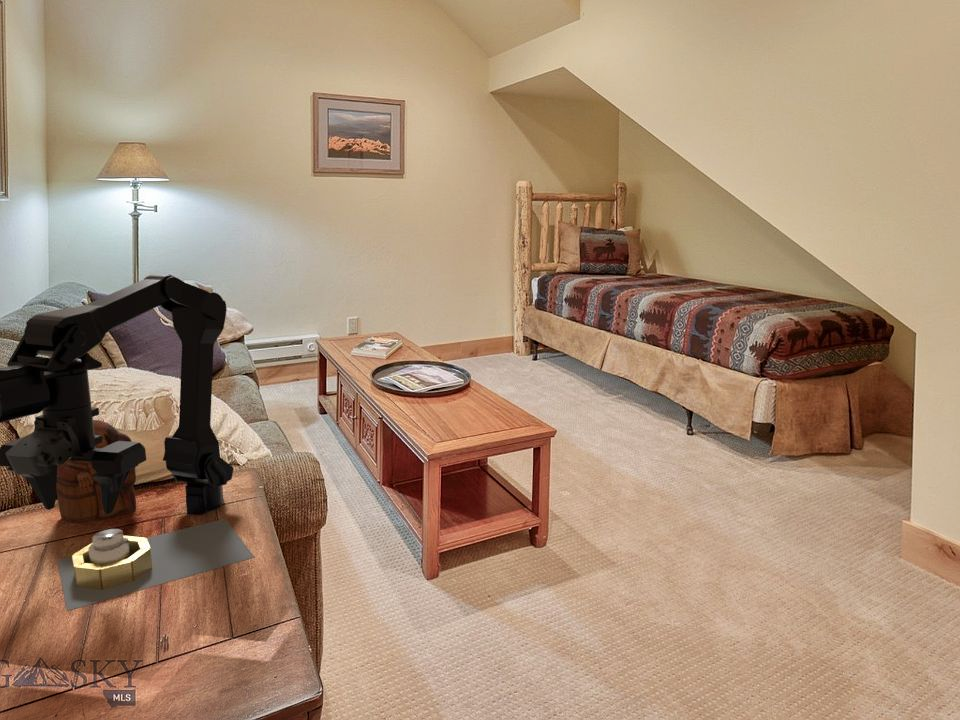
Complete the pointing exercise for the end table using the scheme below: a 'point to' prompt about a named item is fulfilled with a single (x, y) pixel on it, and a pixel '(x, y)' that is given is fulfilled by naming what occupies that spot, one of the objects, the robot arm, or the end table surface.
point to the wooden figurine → (91, 485)
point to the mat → (166, 561)
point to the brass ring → (112, 566)
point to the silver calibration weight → (108, 547)
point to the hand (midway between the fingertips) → (79, 511)
